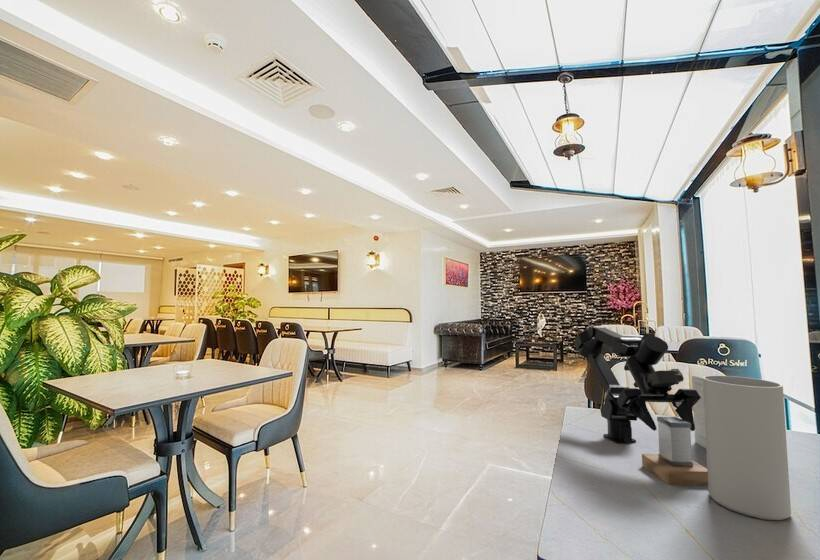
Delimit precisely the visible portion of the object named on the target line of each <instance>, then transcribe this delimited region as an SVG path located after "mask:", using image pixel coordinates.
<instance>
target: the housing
mask: <svg viewBox="0 0 820 560" xmlns="http://www.w3.org/2000/svg"><path fill="white" fill-rule="evenodd" d="M656 420H657V427H658V430H657V431H658V432H657V433H658V454H659V458H660V459H661V460H663V461H665V462H666V463H668V464H670V465H671V466H673V467H693V462H692V461H693V459H692V458H693V456H692V435H691V430H690V428H691V423H689V422H687V421H684V420H682V419H681V418H679V417H677V416H656Z"/></svg>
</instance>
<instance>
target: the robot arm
mask: <svg viewBox="0 0 820 560" xmlns="http://www.w3.org/2000/svg"><path fill="white" fill-rule="evenodd" d="M573 344H574V347H575V350H576V351H577V352H578V353H579V355H580V356H581V357H583V358H585V359H587V360H588V362H589V364H590V365H591V368H592V370H593V372H594V373H595V375H596V377H597V378H596V379H597V380H598V381H599V384H600V386H601V387H602V389H603V391H604V393H605V394H604V400H603V402H604V403H603V405H602V406H601V407H600V414H601V415H600V416H601V417H602V418H604V419H606V420H607V433H604V434H603V437H605V438H606V439H609V440H611V441H613V442H615V443H616V444H623V443H624V444H625V443H636V442H637V440H636V439H634V438H633V430H632V421H638V419H639V420H640V421H641V422H643V423H644V425H646V426H647V427H649V428H650V429H651V430H652V431H654V432H655V431H657V426H656V423H655V421H654V419H653V417H652V415H651V413H650V411H649V409H648V407H647V404H646V403H671V404H672V406H673V407H674V408H676V409H675V413H676V414H677V415H678V416H679V417H680V418H679V419H682V420H684V421H687V422H689V423H691V428H690V432H695V425H694V411H693V408H694V405H695V404H696V403H697V401H698V400H699V399H700V398H701V397H700V395H699V394H698V392H697V391H696V390H694V389H693V388H678V389H677V391H676V392H675V393H674V394H673V393H671V394H670V393H668V392H671V391H672V390H673V388H672V386H674V385H679V384H680V383H682V382H683V381H684V376H683V373H682V372H681V370H680V369H679V368H671V369H668V370H655V368H654V366H656V365H657V364H659V362H660V361H661V360H662V358H663V357H664V355H665V354H666V353H667V351H668V350H669V344H668V343H667V342H666V341H664V340H663V339H662V338H661V337H658V336H656V335H654V334H653V333H652V332H645V333H644V334H643V336H642V338H640V337H638V336H637V337H636V336H628V335H627V336H626V335H622V334H620V333H618V332H615V331H613V330H611V329H609V328H606V327H605V326H604V325H590V326H588V327H587V329H586V330H584V331H582V332H580V333H578V335H577V336H576V337H575V339H574V342H573ZM604 345H607V346H608V347H611V348H612V349H611V350H612V352H613V353H614V354H615V355H616V356H617V357H619V358H628V359H627V360H626V361H625V364H624V367H623V368H624V369H623V370H624V371H628V372H630V374H631V375H632V377H633V380H634V383H633V386H634V388H633V387H632V388H630V386H623V387H622V386H621V384H620V383H619V382H620V381H618V379H617V377H616V375H615V374H614V372H613V370H612V369H611V367H610V365H609V363H608V362H607V360H606V358H605V357H604V354H603V353H602V352H603V349H604V348H603V347H604Z"/></svg>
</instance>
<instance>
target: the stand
mask: <svg viewBox="0 0 820 560" xmlns="http://www.w3.org/2000/svg"><path fill="white" fill-rule="evenodd" d="M641 462H642V463H641V467H643V468H645V469H646V470H647V471H648V472H650V473H651V474H653V475H655V476H656V477H657V478H658V479H660V480H662V482H664V483H666V484H667V485H670V486H708V471H707V467H705V466H703V465H701V464H699V463H697V462H696V461H695V460H692V462H693V467H673V466H671V465H670V464H668V463H666V462H665V461H663V460H661V459H660V458H659V453H642V454H641Z"/></svg>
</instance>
